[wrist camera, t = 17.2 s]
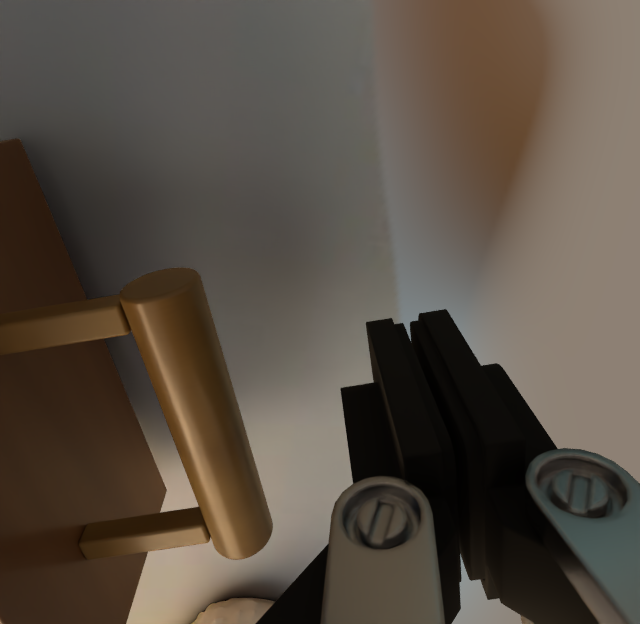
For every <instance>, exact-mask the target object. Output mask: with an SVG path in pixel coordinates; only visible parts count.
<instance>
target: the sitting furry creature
mask: <svg viewBox="0 0 640 624" xmlns="http://www.w3.org/2000/svg"><path fill="white" fill-rule="evenodd" d="M274 603H275V602H274V601H270V600H265V599H258V598H230V599H229V600H228V601H220V602H217V603H211V604H210V605H209V606H208V607H207V608H206V610H205V612H200V613H199V614H198V616H197V619H196V620H195V621H194V622H193V623H190V624H255V623H256V622H257V621H258V620H259V619H260V618H261V617H262V616H263V615H264V614H265V613H266V611H267V610H268V609H269V608H270V607H271V606H272V605H273V604H274Z"/></svg>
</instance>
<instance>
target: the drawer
mask: <svg viewBox="0 0 640 624" xmlns="http://www.w3.org/2000/svg"><path fill="white" fill-rule="evenodd" d="M131 330H132V333H133V336H134V338H135V341H136V343H137V346H138V349H139V351H140V354H141V356H142V359H143V362H144V364H145V367H146V369H147V372H148V375H149V377H150V380H151V382H152V385H153V388H154V390H155V393H156V396H157V398H158V401H159V403H160V406H161V409H162V411H163V414H164V416H165V419H166V422H167V424H168V427H169V429H170V432H171V435H172V437H173V440H174V442H175V445H176V448H177V450H178V453H179V455H180V458H181V461H182V463H183V466H184V468H185V471H186V474H187V476H188V479H189V481H190V484H191V487H192V489H193V492H194V494H195V497H196V500H197V502H198V505H199V507H195V508H188V509H181V510H175V511H168V512H161V513H160V511H161V507H162V504H163V501H164V498H165V494H166V491H167V489H166V487H165V485H164V482H163V480H162V477H161V475H160V473H159V470H158V468H157V465H156V463H155V461H154V458H153V456H152V453H151V451H150V449H149V446H148V444H147V441H146V439H145V437H144V434H143V432H142V429H141V427H140V425H139V422H138V420H137V417H136V415H135V413H134V410H133V408H132V406H131V403H130V401H129V398H128V396H127V394H126V391H125V389H124V386H123V384H122V382H121V379H120V377H119V374H118V372H117V370H116V367H115V365H114V362H113V360H112V358H111V355H110V353H109V350H108V348H107V346H106V343H105V341H104V338H111V337H117V336H123V335H127V334H129V333H130V331H131ZM272 528H273V523H272V519H271V516H270V512H269V509H268V505H267V502H266V498H265V495H264V492H263V488H262V485H261V481H260V478H259V475H258V471H257V468H256V464H255V461H254V457H253V454H252V451H251V447H250V444H249V440H248V437H247V434H246V430H245V427H244V423H243V420H242V416H241V413H240V410H239V406H238V403H237V399H236V396H235V393H234V389H233V386H232V382H231V379H230V375H229V372H228V369H227V365H226V362H225V358H224V355H223V352H222V348H221V345H220V341H219V338H218V335H217V331H216V328H215V324H214V321H213V317H212V314H211V311H210V307H209V304H208V300H207V297H206V294H205V290H204V287H203V283H202V280H201V276H200V274H199V273H198V272H197V271H196V270H194V269H191V268H182V267H181V268H168V269H163V270H158V271H155V272H152V273H149V274H146V275H143V276H141V277H139V278H137V279H135V280H133V281H132V282H130V283H128V284H127V285H126V286H124V287H123V288H122V290H121V291H120V294H119V295H113V296H106V297H100V298H94V299H88V300H87V298H86V295H85V293H84V291H83V288H82V286H81V283H80V281H79V279H78V276H77V274H76V271H75V269H74V267H73V264H72V262H71V259H70V257H69V255H68V252H67V250H66V248H65V245H64V243H63V240H62V238H61V236H60V233H59V231H58V228H57V226H56V224H55V221H54V219H53V216H52V214H51V212H50V209H49V207H48V204H47V202H46V200H45V197H44V195H43V192H42V190H41V188H40V185H39V183H38V180H37V178H36V176H35V173H34V171H33V169H32V166H31V164H30V161H29V159H28V157H27V154H26V152H25V149H24V147H23V145H22V142H21V140H20V139H18V138H15V139H10V140H4V141H0V624H126V622H127V619H128V615H129V612H130V609H131V606H132V602H133V599H134V596H135V593H136V589H137V586H138V583H139V579H140V576H141V573H142V570H143V566H144V563H145V560H146V557H147V553H148V551H155V550H162V549H169V548H176V547H183V546H189V545H196V544H203V543H208V542H209V541H210V536H211V539H212V541H213V544H214V546H215V549H216V550H217V552H218V553H219V554H221V555H222V556H224V557H226V558H228V559H233V560H239V559H245V558H248V557H250V556H253V555H254V554H256V553H257V552H259V551H260V550H261V549H262V548H263V547H264V546H265V545H266V544H267V542H268V541H269V539H270V536H271V533H272Z"/></svg>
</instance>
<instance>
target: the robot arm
mask: <svg viewBox="0 0 640 624" xmlns="http://www.w3.org/2000/svg"><path fill="white" fill-rule="evenodd" d="M366 329H367V336H368V344H369V351H370V358H371V366H372V373H373V380H374V383H369V384H363V385H356V386H350V387H344V388H341V396H342V403H343V411H344V418H345V426H346V433H347V441H348V448H349V456H350V463H351V471H352V478H353V484H352V485H351V486H350V487H349V488H347V489H346V490H345V491H344V492H342V494H341V495H340V497H339V498H338V500H337V501H336V502H335V505H334V508H333V512H332V515H331V525H330V535H329V544H328V545H327V546H326V547H325V548H324V549H323V550H322V551H321V552H320V553H319V555H318V556H317V557H316V558H315V559H314V560H313V561H312V562H311V563H310V564H309V566H308V567H307V568H306V569H305V570H304V571H303V572H302V573H301V574H300V575H299V576H298V578H297V579H296V580H295V581H294V582H293V583H292V584H291V585H290V586H289V587H288V588H287V590H286V591H285V592H284V593H283V594H282V595H281V596H280V597H279V598H278V599H277V600H276V602H275V603H274V604H273V605H272V606H271V607H270V608H269V609H268V610H267V611H266V613H265V614H264V615H263V616H262V617H261V618H260V619H259V620H258V621H257V622H256V623H255V624H451V623H452V622H453V620H454V619H455V617H456V615H457V614H458V612H459V611H460V609H461V606H460V587H459V582H461V561H460V554H461V557H462V560H463V562H464V566H465V569H466V571H467V574H468V577H469V579H470V580H471V581H472V580H478V579H481V582H482V585H483V588H484V591H485V593H486V596H487V599H488V600H490V599H497V598H499V599H500V601H501V603H503V604H504V605H505V606H507V607H509V608H510V609H512V610H513V611H515V612H517V613H518V614H520V615H521V621H522V624H640V483H638V482H637V481H636V480H635V479H634V478H633V477H632V476H631V475H630V474H629V473H628V472H627V471H626V470H624V469H623V468H622V467H620V466H619V465H618V464H616V463H615V462H614V461H612V460H609V459H607V458H605V457H603V456H601V455H599V454H596V453H592V452H588V451H585V450H581V449H567V448H563V449H557V447H556V446H555V444H554V443H553V441H552V440H551V438H550V437H549V435H548V434H547V432H546V431H545V429H544V428H543V426H542V425H541V424H540V422H539V421H538V419H537V418H536V416H535V415H534V413H533V412H532V410H531V409H530V407H529V406H528V404H527V403H526V401H525V400H524V399H523V397H522V396H521V394H520V393H519V392H518V390H517V388H516V387H515V385H514V384H513V382H512V381H511V380H510V378H509V376H508V375H507V374H506V372H505V371H504V369H503V368H502V367H501V366H500V365H499V364H489V365H483V366H481V365H480V363H479V362H478V360H477V358H476V357H475V356H474V354H473V352H472V350H471V349H470V347H469V345H468V344H467V342H466V341H465V339H464V337H463V336H462V334H461V332H460V331H459V330H458V328H457V326H456V324H455V323H454V321H453V319H452V318H451V316H450V314H449V313H448V311H447V310H446V309H444V310H438V311H432V312H426V313H420V314H419V318H418V321H412V322H410V332H411V341H410V339H409V336H408V334H407V331H406V329H405V327H404V324H403V323H400V324H394V322H393V320H392V318H389V319H382V320H376V321H370V322H366Z"/></svg>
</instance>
